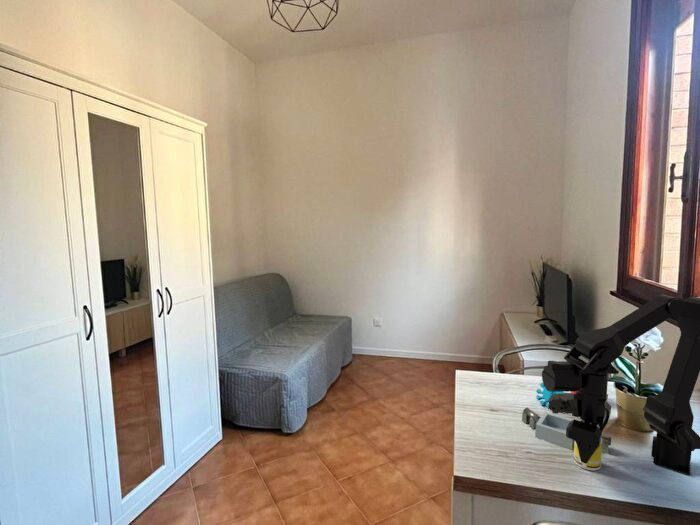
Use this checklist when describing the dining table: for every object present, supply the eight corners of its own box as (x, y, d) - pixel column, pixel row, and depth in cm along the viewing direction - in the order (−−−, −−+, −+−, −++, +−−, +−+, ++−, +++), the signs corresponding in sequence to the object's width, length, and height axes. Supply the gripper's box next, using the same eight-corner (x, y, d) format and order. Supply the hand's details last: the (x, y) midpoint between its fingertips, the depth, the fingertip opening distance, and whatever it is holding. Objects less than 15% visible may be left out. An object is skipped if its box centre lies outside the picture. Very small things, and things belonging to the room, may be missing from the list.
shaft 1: (545, 429, 103) (545, 417, 102) (534, 430, 102) (535, 418, 102) (530, 418, 108) (531, 407, 108) (521, 420, 108) (521, 408, 107)
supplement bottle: (603, 463, 88) (606, 424, 87) (597, 474, 85) (600, 434, 84) (577, 453, 92) (579, 415, 91) (570, 463, 89) (572, 424, 87)
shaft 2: (609, 447, 95) (610, 434, 94) (610, 454, 92) (611, 440, 91) (576, 439, 98) (577, 426, 98) (576, 445, 95) (577, 432, 95)
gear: (528, 393, 120) (550, 371, 120) (537, 403, 122) (559, 381, 122) (553, 415, 110) (578, 391, 110) (563, 425, 112) (587, 402, 112)
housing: (578, 434, 100) (579, 422, 100) (571, 449, 94) (572, 436, 93) (544, 423, 106) (544, 411, 105) (535, 437, 99) (535, 424, 99)
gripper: (562, 368, 99) (558, 424, 100) (542, 394, 85) (538, 458, 86) (613, 380, 91) (608, 440, 93) (601, 410, 77) (596, 480, 79)
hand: (587, 453), depth 88 cm, fingers open, 8 cm apart
